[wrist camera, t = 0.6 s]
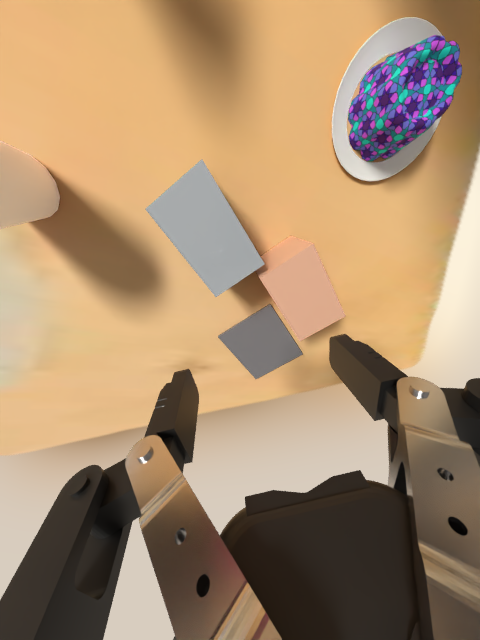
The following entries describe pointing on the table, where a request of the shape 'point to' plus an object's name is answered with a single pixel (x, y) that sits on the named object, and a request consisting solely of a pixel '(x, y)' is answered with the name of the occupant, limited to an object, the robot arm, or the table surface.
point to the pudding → (394, 97)
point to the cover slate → (205, 230)
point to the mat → (261, 342)
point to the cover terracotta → (300, 286)
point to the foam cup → (24, 188)
